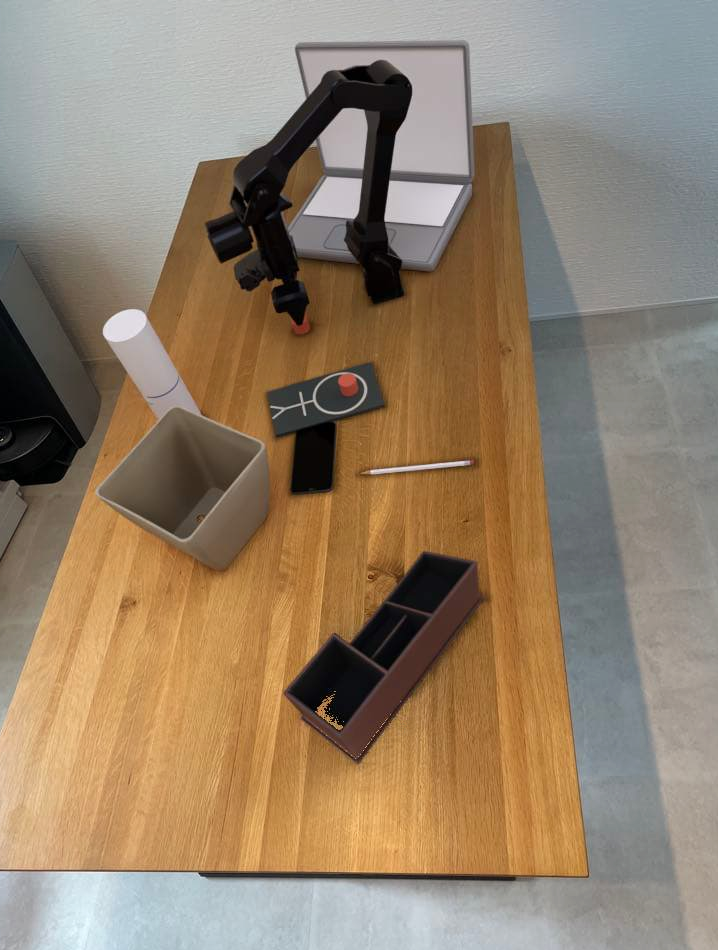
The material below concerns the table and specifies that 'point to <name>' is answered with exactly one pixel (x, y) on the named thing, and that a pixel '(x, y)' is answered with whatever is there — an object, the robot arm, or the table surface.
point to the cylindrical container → (147, 362)
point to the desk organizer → (387, 653)
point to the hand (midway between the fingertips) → (296, 309)
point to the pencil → (420, 467)
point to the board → (323, 400)
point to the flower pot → (193, 486)
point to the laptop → (414, 158)
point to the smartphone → (314, 459)
